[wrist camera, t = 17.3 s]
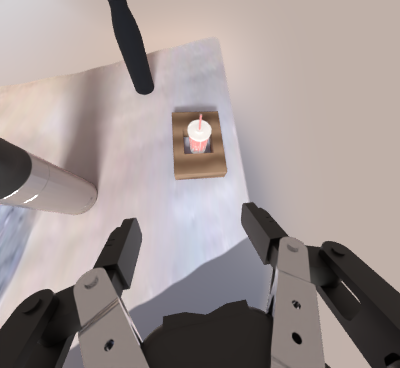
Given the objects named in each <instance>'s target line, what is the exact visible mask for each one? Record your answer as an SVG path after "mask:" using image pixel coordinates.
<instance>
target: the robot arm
mask: <svg viewBox="0 0 400 368" xmlns="http://www.w3.org/2000/svg"><path fill="white" fill-rule="evenodd" d="M96 198H97V190H96V188H95V186H94V185H93V184H92V183H90V182H88V181H86V180H84V179H82V178H80V177H78V176H76V175H74V174H72V173H70V172H68V171H66V170H64V169H62V168H60V167H58V166H56V165H54V164H52V163H50V162H48V161H46V160H44V159H42V158H40V157H37V156H35V155H33V154H31V153H29V152H27V151H25V150H23V149H21V148H19V147H17V146H15V145H13V144H11V143H9V142H7V141H5V140H4V139H2V138H0V205H6V206H13V207H21V208H28V209H35V210H42V211H49V212H56V213H63V214H70V215H78V214H82V213H84V212H86V211H87V210H89V209H90V208H91V207H92V206H93V204H94V203H95V201H96ZM241 223H242V226H243V228H244V230H245V232H246V233H247V235H248V237H249V239H250V241H251V242H252V244H253V246H254V247H255V249H256V251H257V253H258V255H259V256H260V258H261V260H262V262H263V264H264V265H266V264H271V266H272V267H273V268H272V273H271V281H270V288H269V296H268V302H267V307H266V312H264V311H262V310H260V309H257V308H254V307H249V306H248V304H247V302H246V300H242V301H236V302H232V303H227V304H225V305H223V306H221V307H220V308H218V309H216V310H214V311H213V312H211V313H209V314H206V315H204V314H195V313H187V312H184V313H179V314H173V315H168V316H164V317H163V324H162V325H160V326H159V327H157V328H156V329H155V330H154V331H153V332H152V333H150V334H149V335H148V336H147V338H146V339H145V340H144V341H142V339H141V337H140V335H139V333H138V331H137V329H136V328H135V325H134V323H133V321H132V319H131V317H130V315H129V313H128V311H127V309H126V307H125V305H124V302H123V300H122V298H121V295H122V292H123V290H126V289H130V286H131V282H132V278H133V274H134V270H135V266H136V262H137V258H138V254H139V250H140V246H141V243H142V233H141V230H140V227H139V224H138V221H137V219H136V218H130V219H124V220H123V222H122V225H121V227H117V228H116V229H115V230H114V231H113V232H112V233H111V234H110V236H109V238H108V241H107V242H106V244H105V247H104V248H103V250H102V252H101V254H100V256H99V257H98V259H97V261H96V263H95V265H94V267H93V269H92V270H90V271H88V272H86V273H85V274H84V275H82V276H81V277H80V278H79V280H78V281H77V282H76V284H75V285H73V286H71V287H69V288H67V289H64V290H62V291H60V292H58V293H54V292H53V291H52V290H50V289H44V290H41V291H38V292H36V293H34V294H32V295H31V296H29V297H28V298H27V299H25V300H24V301H23V302H22V303H21V304H20V305H19V306H18V307H17V308H16V309H15V310H14V312H13V313H12V314H11V316H10V317H9V318H8V320H7V321H6V322H5V324H4V325H3V326H2V328H1V329H0V368H62V366H63V364H64V362H65V359H66V357H67V354H68V352H69V349H70V346H71V344H72V341H73V339H74V336H75V334H76V332H78V331H79V332H78V339H79V344H80V349H81V354H82V359H83V364H84V368H330V367H329V366H328V365H327V364H326V363H325V361H324V353H323V344H322V335H321V328H320V320H319V310H318V302H317V293H316V290H317V292H318V293H319V294H320V296H321V297H322V299H323V300H324V301H325V303H326V304H327V306H328V307H329V308H330V310H331V311H332V313H333V314H334V315H335V317H336V318H337V320H338V321H339V323H340V324H341V325H342V327H343V328H344V330H345V331H346V332H347V334H348V335H349V337H350V338H351V339H352V341H353V342H354V344H355V345H356V346H357V348H358V349H359V351H360V352H361V353H362V355H363V356H364V358H365V359H366V360H367V362H368V363H369V365H370V366H371V367H372V368H400V293H399V292H398V291H396V290H395V289H394V288H393V287H392V286H391V285H390V284H388V283H387V282H386V281H385V280H384V279H383V278H382V277H380V276H379V275H378V274H377V273H376V272H374V270H372V269H371V268H370V267H369V266H368V265H367V264H365V263H364V262H363V261H362V260H361V259H360V258H359V257H357V256H356V255H355V254H354V253H353V252H352V251H351V250H349V249H348V248H347V247H345V246H343V245H341V244H339V243H336V242H332V241H326V242H324V243H323V244H322V246H321V247H314V246H306V245H304V243H302V242H301V241H300V240H298V239H296V238H293V237H289V236H288V235H287V234H286V233H285V231H284V230H283V229H282V228H281V227H280V226H279V225H278V224H277V222H276V221H275V220H274V219H273V218H272V217H271V216H270V214H269V213H268V212H267V211H265V210H264V209H262V208H258V207H257V206H256V205H255V204H254V203H253V202H250V203H243V205H242V214H241ZM341 281H343V282H344V283H345V284H346V286H347V287H348V288H349V289H350V290H351V291H352V292H353V293H354V295H355V296H356V297H357V298H358V299H359V301H360V302H358V300H357V299H356V298H355V297H354V296H353V295H352V293H351V292H350V291H349V290H348V289H347V288H346V287H345V286H344V284H343V283H342V282H341ZM360 303H361V304H360Z"/></svg>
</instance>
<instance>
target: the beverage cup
mask: <svg viewBox="0 0 400 368" xmlns="http://www.w3.org/2000/svg"><path fill="white" fill-rule="evenodd" d="M211 130H212V129H211V126H210V125H209V124H208V123H207V122H206V121H204V120H202V114H200V120H194V121H192V122H191V123H190V124H189V125H188V129H187V131H188V135H189V142H190V150H191V152H192V153H193V154H195V153H204V151H205V149H206V145H207V142H208V139H209V137H210V135H211Z"/></svg>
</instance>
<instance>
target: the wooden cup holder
mask: <svg viewBox="0 0 400 368" xmlns="http://www.w3.org/2000/svg"><path fill="white" fill-rule="evenodd" d="M200 114H202V120H204V121H206V122H207V123H208V124H209V125H210V126H211V129H212V130H211V135H210V137H209V140H210V148H211V153H195V154H184V141H183V137H189V135H188V131H187V129H188V125H189V124H190V123H191V122H192V121H194V120H200ZM172 128H173V153H174V175H175V179H176V180H182V179H198V178H214V177H224V176H225V174H226V173H227V167H226V161H225V154H224V148H223V141H222V135H221V129H220V122H219V116H218V111H216V112H175V113H172Z"/></svg>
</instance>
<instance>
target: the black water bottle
mask: <svg viewBox="0 0 400 368" xmlns="http://www.w3.org/2000/svg"><path fill="white" fill-rule="evenodd" d="M108 2H109V5H110V8H111V16H112V24H113V28H114V33H115V37H116V40H117V43H118V45H119V48H120V50H121V53H122V55H123V58H124V61H125V63H126V66H127V69H128V71H129V74H130V76H131V79H132V82H133V84H134V87H135V89H136V91H137V92H138V93H139V94H143V95H146V94H149V93H151V92H152V91H153V89H154V85H153V81H152V76H151V72H150V68H149V64H148V60H147V56H146V52H145V48H144V44H143V40H142V37H141V34H140V31H139V28H138V26H137V24H136V21H135V19H134V17H133V15H132V13H131V11H130V10H129V8H128V5H127V1H126V0H108Z"/></svg>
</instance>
